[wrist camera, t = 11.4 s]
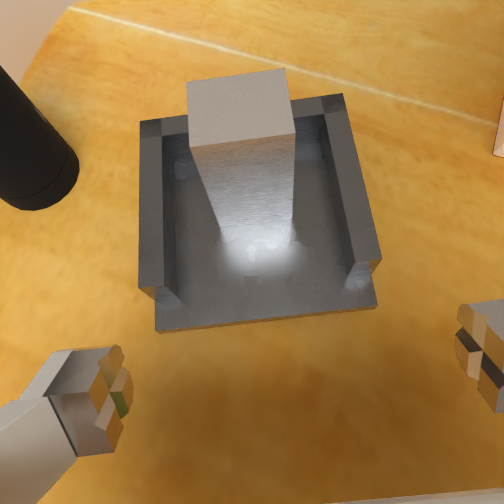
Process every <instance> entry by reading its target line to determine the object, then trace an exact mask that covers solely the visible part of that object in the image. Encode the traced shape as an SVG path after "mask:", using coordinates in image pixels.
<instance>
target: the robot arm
mask: <svg viewBox="0 0 504 504" xmlns="http://www.w3.org/2000/svg"><path fill="white" fill-rule="evenodd" d="M457 320H458V321H459V322H460V324H461V325H462V326H463V327H462V328H461V329H460V330H459V331H458V332H457V333H456V335H455V351H456V356H457V359H458V361H459V364H460V366H461V368H462V369H463V370H464V372H465V373H466V375H468V376H469V377H471V378H473V379H475V380H477V381H479V382H478V391H479V393H480V394H481V395H482V397H483V398H484V399H485V401H486V402H487V403H488V405H489V406H490V407H491V409H492V410H493V411H494V413H504V299H497V300H489V301H482V302H474V303H466V304H461V305H460V307H459V309H458V314H457ZM123 360H124V355H123V353H122V350H121V348H120V347H119V346H118V345H116V344H114V345H104V346H94V347H83V348H77V349H75V348H73V349H65V350H57V351H55V352H53V353H52V354H51V355H50V356H49V358H48V359H47V360H46V362H45V363H44V365H43V366H42V367H41V369H40V370H39V371H38V373H37V374H36V376H35V377H34V378H33V380H32V381H31V382H30V384H29V385H28V386H27V388H26V389H25V391H24V392H23V393H22V395H21V396H20V397H19V399H18V400H14V401H10V402H8V403H7V404H5V405H4V406H2V407H1V408H0V504H36V503H37V502H38V501H39V500H40V499H41V498H42V497H43V496H44V495H45V494H46V493H47V492H48V490H49V489H50V488H51V487H52V486H53V485H54V484H55V483H56V482H57V481H58V480H59V479H60V477H61V476H62V475H63V474H64V473H65V472H66V471H67V470H68V469H69V468H70V467H71V466H72V465H73V463H74V462H75V461H76V460H77V457H82V456H90V455H97V454H105V453H113V452H114V451H115V448H116V446H117V443H118V440H119V438H120V435H121V432H122V430H123V425H122V422H121V420H120V419H121V418H123V417H124V416H125V415H126V414H127V413H128V412H129V410H130V407H131V404H132V401H133V390H134V389H133V382H132V378H131V375H130V372H129V371H128V370H126V369H125V368H124V367H122V366H121V365H122V362H123ZM326 504H504V487H501V488H490V489H479V490H468V491H457V492H446V493H435V494H424V495H413V496H402V497H391V498H381V499H370V500H359V501H348V502H337V503H326Z"/></svg>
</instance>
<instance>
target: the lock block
mask: <svg viewBox="0 0 504 504" xmlns="http://www.w3.org/2000/svg"><path fill="white" fill-rule="evenodd" d="M186 85H187V107H188V128H189V147H190V150H191V153H192V155H193V158H194V161H195V163H196V166H197V168H198V171H199V174H200V176H201V179H202V182H203V184H204V187H205V189H206V192H207V195H208V197H209V200H210V202H211V205H212V208H213V210H214V213H215V216H216V218H217V221H218V223H219V226H220V227H225V226H233V225H241V224H249V223H257V222H265V221H273V220H281V219H289V218H292V208H293V184H294V160H295V136H296V132H295V127H294V121H293V115H292V109H291V103H290V98H289V92H288V86H287V80H286V74H285V69H284V68H283V69H276V70H268V71H261V72H254V73H247V74H240V75H233V76H226V77H219V78H212V79H205V80H197V81H190V82H186Z"/></svg>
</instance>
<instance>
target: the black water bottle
mask: <svg viewBox="0 0 504 504" xmlns="http://www.w3.org/2000/svg"><path fill="white" fill-rule="evenodd" d="M78 173H79V162H78V159H77V156H76V154H75V152H74V151H73V150H72V148H71V147H70V146H69V145H68V144H67V143H66V141H65V140H64V139H63V138H62V137H61V136H60V134H59V133H58V132H57V131H56V130H55V129H54V127H53V126H52V125H51V124H50V123H49V122H48V120H47V119H46V118H45V117H44V116H43V115H42V113H41V112H40V111H39V110H38V109H37V108H36V107H35V105H34V104H33V103H32V102H31V101H30V100H29V98H28V97H27V96H26V95H25V94H24V93H23V91H22V90H21V89H20V88H19V87H18V86H17V84H16V83H15V82H14V81H13V80H12V79H11V77H10V76H9V75H8V74H7V73H6V72H5V70H4V69H3V68H2V67H1V66H0V198H1V199H3V200H4V201H5V202H7V203H8V204H10V205H11V206H14V207H16V208H19V209H21V210H38V209H43V208H47V207H49V206H51V205H53V204H55V203H56V202H58V201H60V200H61V199H62V198H63V197H64V196H65V195H66V194H68V193H69V191H70V190H71V188H72V187H73V185H74V184H75V182H76V179H77V176H78Z"/></svg>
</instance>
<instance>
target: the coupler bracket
mask: <svg viewBox="0 0 504 504" xmlns="http://www.w3.org/2000/svg"><path fill="white" fill-rule="evenodd" d="M290 103H291V109H292V115H293V121H294V127H295V132H296V136H295V160H294V184H293V208H292V218H289V219H281V220H273V221H265V222H257V223H249V224H241V225H233V226H225V227H220V226H219V223H218V221H217V218H216V216H215V213H214V210H213V208H212V205H211V202H210V200H209V197H208V195H207V192H206V189H205V187H204V184H203V182H202V179H201V176H200V174H199V171H198V168H197V166H196V163H195V161H194V158H193V155H192V153H191V150H190V147H189V128H188V115H181V116H174V117H166V118H159V119H152V120H145V121H140V167H139V274H138V288H139V289H140V290H142V291H143V292H144V293H146V294H147V295H149V296H150V297H151V298H153V299H154V300H155V331H156V332H158V333H169V332H178V331H186V330H195V329H204V328H212V327H221V326H230V325H238V324H247V323H256V322H264V321H273V320H282V319H290V318H299V317H308V316H316V315H325V314H334V313H342V312H351V311H360V310H368V309H375V308H376V307H377V306H378V304H377V299H376V295H375V290H374V286H373V281H372V277H371V274H372V272H373V271H374V270H375V268H376V267H377V265H378V264H379V263H380V261H381V260H382V255H381V251H380V247H379V243H378V239H377V234H376V230H375V226H374V222H373V218H372V214H371V209H370V205H369V201H368V197H367V193H366V189H365V184H364V180H363V176H362V172H361V168H360V164H359V159H358V155H357V151H356V147H355V143H354V139H353V134H352V130H351V126H350V122H349V118H348V114H347V109H346V105H345V101H344V97H343V93H341V94H333V95H326V96H319V97H311V98H304V99H297V100H290Z"/></svg>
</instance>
